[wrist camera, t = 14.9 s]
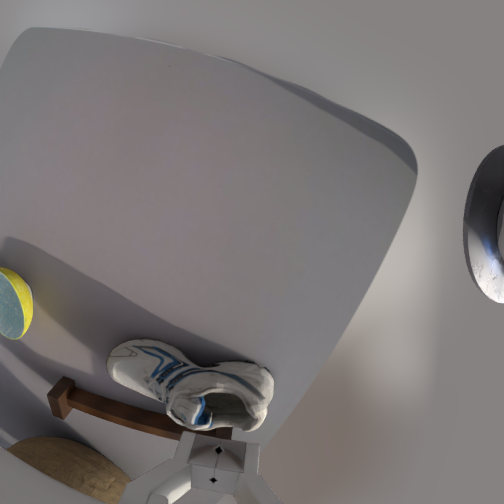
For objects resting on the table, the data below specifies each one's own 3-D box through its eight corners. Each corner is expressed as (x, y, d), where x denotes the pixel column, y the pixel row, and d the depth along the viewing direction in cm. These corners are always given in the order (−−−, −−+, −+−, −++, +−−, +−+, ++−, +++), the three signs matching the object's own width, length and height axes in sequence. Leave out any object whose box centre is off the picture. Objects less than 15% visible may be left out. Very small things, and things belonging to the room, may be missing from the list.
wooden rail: (233, 421, 43) (230, 448, 37) (230, 440, 44) (226, 466, 38) (63, 376, 43) (46, 394, 37) (68, 396, 44) (52, 415, 38)
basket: (36, 458, 52) (-8, 509, 28) (40, 380, 47) (-35, 442, 22) (147, 524, 53) (122, 589, 28) (191, 471, 47) (160, 570, 23)
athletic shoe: (111, 330, 40) (79, 392, 29) (275, 340, 39) (279, 415, 29) (128, 375, 44) (106, 434, 33) (271, 386, 44) (273, 454, 33)
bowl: (7, 315, 41) (-14, 328, 35) (0, 253, 38) (-24, 262, 32) (51, 332, 41) (30, 349, 35) (44, 265, 38) (19, 277, 32)
